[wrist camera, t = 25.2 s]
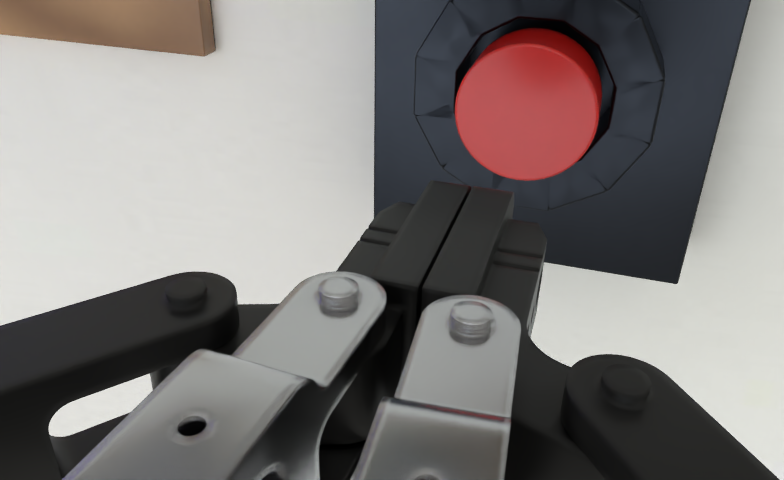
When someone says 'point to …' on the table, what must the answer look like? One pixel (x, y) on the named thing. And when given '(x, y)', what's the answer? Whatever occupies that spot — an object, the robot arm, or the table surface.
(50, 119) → the table surface
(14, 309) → the table surface
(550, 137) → the button
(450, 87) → the housing
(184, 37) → the wooden board
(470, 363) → the robot arm
